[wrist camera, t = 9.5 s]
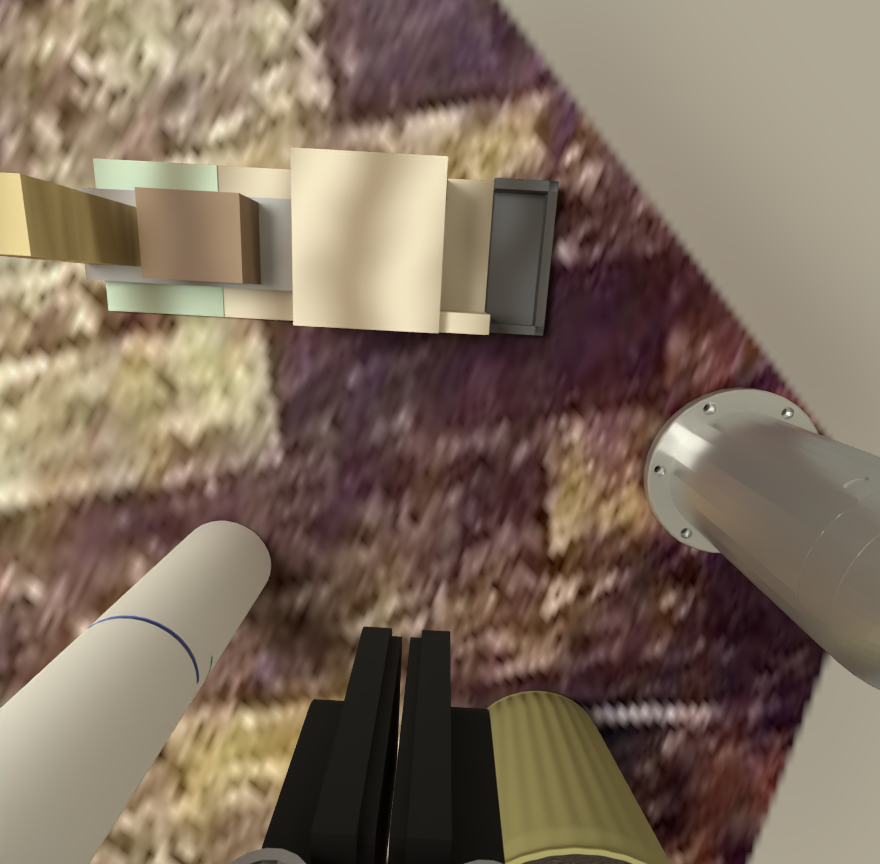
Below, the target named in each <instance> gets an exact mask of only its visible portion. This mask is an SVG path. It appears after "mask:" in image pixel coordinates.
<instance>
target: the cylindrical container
mask: <svg viewBox="0 0 880 864" xmlns="http://www.w3.org/2000/svg"><path fill="white" fill-rule="evenodd" d="M270 572H271V559H270V555H269V552H268V550H267V548H266V546H265V544H264V543H263V541H262V540H261V539H260V537H258V536H257V535H256V534H255V533H254V532H253V531H251V530H250V529H248V528H247V527H245V526H243V525H240V524H238V523H234V522H229V521H214V522H209V523H206V524H203V525H201V526H200V527H198V528H196V529H195V530H194V531H193V532H192V533H191V534H189V535H188V536H187V537H186V538H185V539H184V540H183V541H182V542H181V543H180V544H179V545H177V546H176V547H175V548H174V549H173V550H172V551H171V552H170V553H169V554H168V555H167V556H165V557H164V558H163V559H162V560H161V561H160V562H159V563H158V564H157V565H156V566H155V567H153V568H152V569H151V570H150V571H149V572H148V573H147V574H146V575H145V576H144V577H143V578H142V579H140V580H139V581H138V582H137V583H136V584H135V585H134V586H133V587H132V588H131V589H130V590H129V591H127V592H126V593H125V594H124V595H123V596H122V597H121V598H120V599H119V600H118V601H117V602H116V603H115V604H113V605H112V606H111V607H110V608H109V609H108V610H107V611H106V612H105V613H104V614H103V615H102V616H100V617H99V618H98V619H97V620H96V621H95V622H94V623H93V624H92V625H91V626H90V627H89V628H88V629H87V630H85V631H84V632H83V633H82V634H81V635H80V636H79V637H78V638H77V639H76V640H74V641H73V642H72V643H71V644H70V645H69V646H68V647H67V648H66V649H65V650H64V651H62V652H61V653H60V654H59V655H58V656H57V657H56V658H55V659H54V660H53V661H52V662H50V663H49V664H48V665H47V666H46V667H45V668H44V669H43V670H42V671H41V672H40V673H38V674H37V675H36V676H35V677H34V678H33V679H32V680H31V681H30V682H29V683H28V684H26V685H25V686H24V687H23V688H22V689H21V690H20V691H19V692H18V693H17V694H16V695H14V696H13V697H12V698H11V699H10V700H9V701H8V702H7V703H6V704H5V705H4V706H3V707H1V708H0V864H89V863H90V862H91V860H92V859H93V857H94V855H95V854H96V852H97V851H98V849H99V848H100V846H101V844H102V843H103V841H104V840H105V838H106V836H107V835H108V833H109V832H110V830H111V829H112V827H113V825H114V824H115V822H116V821H117V819H118V818H119V816H120V814H121V813H122V811H123V810H124V808H125V806H126V805H127V803H128V802H129V800H130V799H131V797H132V795H133V794H134V792H135V791H136V789H137V788H138V786H139V784H140V783H141V781H142V780H143V778H144V776H145V775H146V773H147V772H148V770H149V769H150V767H151V765H152V764H153V762H154V761H155V759H156V757H157V756H158V754H159V753H160V751H161V750H162V748H163V746H164V745H165V743H166V742H167V740H168V739H169V737H170V735H171V734H172V732H173V731H174V729H175V727H176V726H177V724H178V723H179V721H180V720H181V718H182V716H183V715H184V713H185V712H186V710H187V708H188V707H189V705H190V704H191V702H192V701H193V699H194V697H195V696H196V694H197V693H198V691H199V689H200V688H201V686H202V685H203V683H204V681H205V680H206V678H207V677H208V675H209V674H210V672H211V670H212V669H213V667H214V666H215V664H216V663H217V661H218V659H219V658H220V656H221V655H222V653H223V651H224V650H225V648H226V647H227V645H228V644H229V642H230V640H231V639H232V637H233V636H234V634H235V632H236V631H237V629H238V628H239V626H240V624H241V623H242V621H243V620H244V618H245V617H246V615H247V613H248V612H249V610H250V609H251V607H252V605H253V604H254V602H255V601H256V599H257V598H258V596H259V594H260V593H261V591H262V590H263V588H264V586H265V585H266V583H267V581H268V579H269V576H270Z"/></svg>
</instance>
